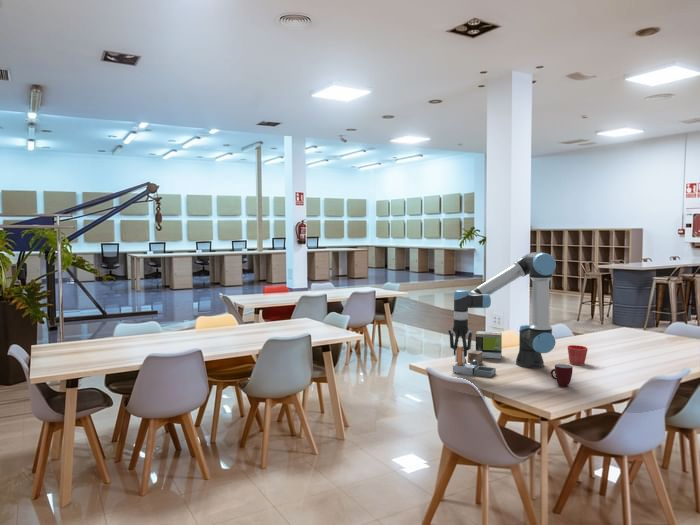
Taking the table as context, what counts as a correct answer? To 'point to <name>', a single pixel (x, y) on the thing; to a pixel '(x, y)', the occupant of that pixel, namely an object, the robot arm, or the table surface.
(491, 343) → the retro computer monitor
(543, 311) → the robot arm
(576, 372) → the table surface
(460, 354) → the stop pin
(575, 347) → the flower pot
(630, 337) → the table surface
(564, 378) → the mug
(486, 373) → the pin tray
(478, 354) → the chock block
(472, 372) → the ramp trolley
